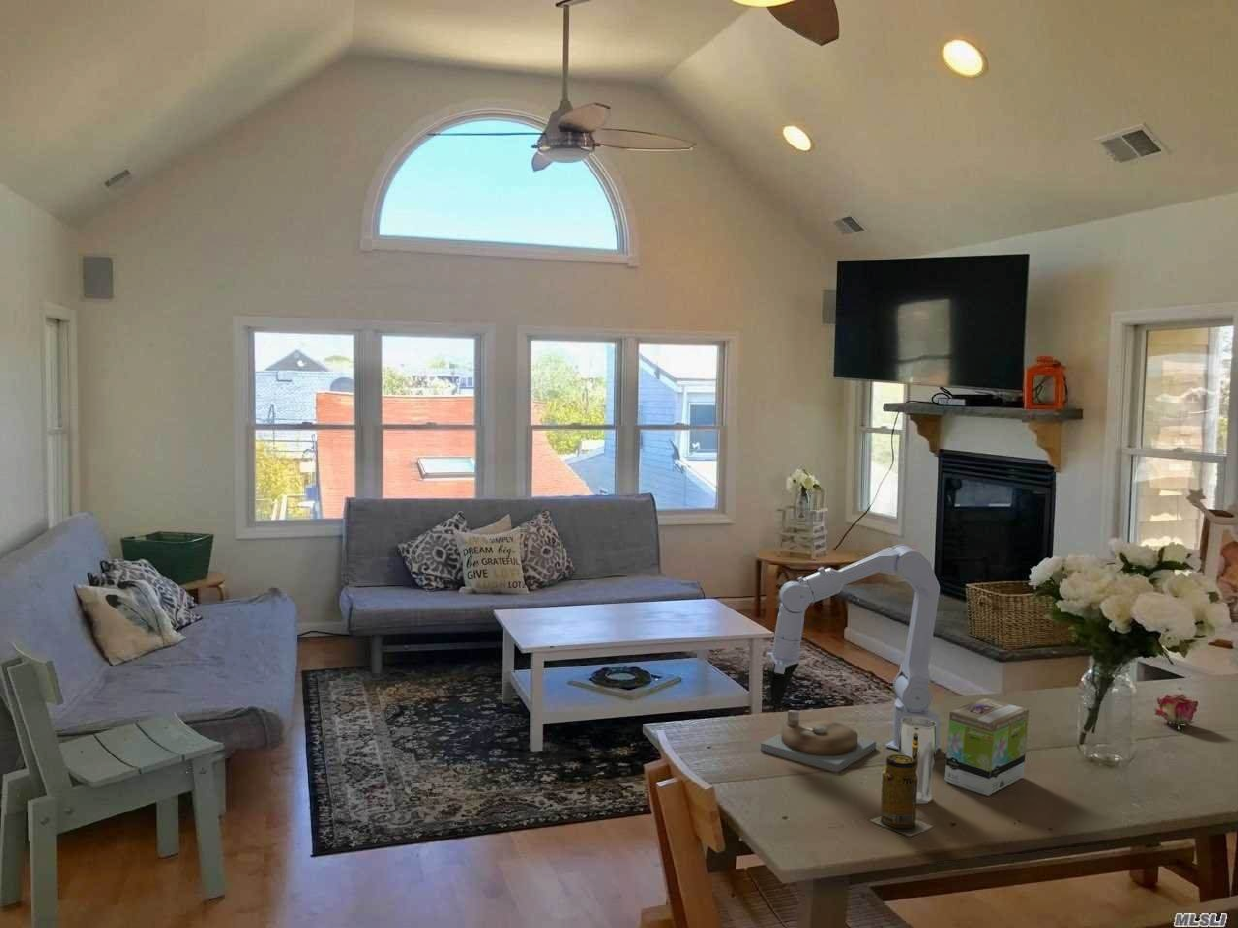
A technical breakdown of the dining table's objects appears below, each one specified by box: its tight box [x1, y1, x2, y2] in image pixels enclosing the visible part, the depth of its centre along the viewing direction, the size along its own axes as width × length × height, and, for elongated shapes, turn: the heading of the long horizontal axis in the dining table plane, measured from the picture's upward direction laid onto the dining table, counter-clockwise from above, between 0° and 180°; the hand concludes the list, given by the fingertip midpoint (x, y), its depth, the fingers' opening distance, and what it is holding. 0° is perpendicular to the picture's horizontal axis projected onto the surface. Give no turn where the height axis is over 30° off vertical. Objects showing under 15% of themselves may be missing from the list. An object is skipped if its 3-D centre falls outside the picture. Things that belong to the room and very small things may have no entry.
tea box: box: [943, 697, 1030, 797], centre depth 207 cm, size 15×10×15 cm, turn 134°
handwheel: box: [781, 709, 859, 755], centre depth 222 cm, size 16×16×5 cm
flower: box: [1153, 694, 1199, 727], centre depth 242 cm, size 10×9×8 cm
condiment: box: [870, 753, 934, 837], centre depth 186 cm, size 7×8×12 cm
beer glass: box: [898, 716, 937, 805], centre depth 197 cm, size 7×7×15 cm
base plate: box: [760, 732, 877, 774], centre depth 222 cm, size 18×18×2 cm
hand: (778, 697), depth 225 cm, fingers open, 7 cm apart
